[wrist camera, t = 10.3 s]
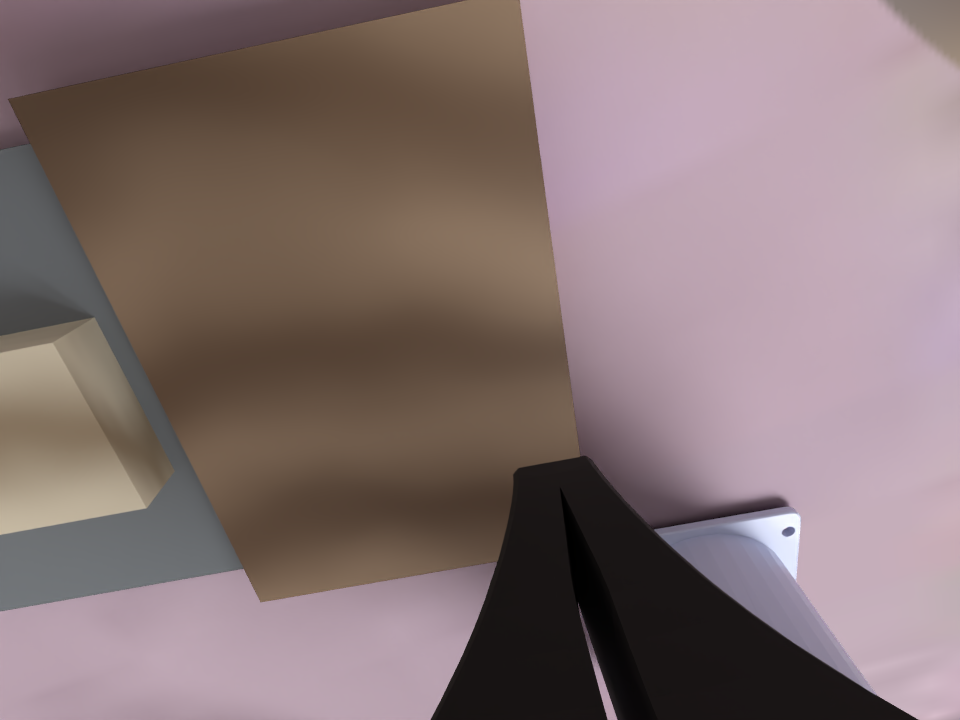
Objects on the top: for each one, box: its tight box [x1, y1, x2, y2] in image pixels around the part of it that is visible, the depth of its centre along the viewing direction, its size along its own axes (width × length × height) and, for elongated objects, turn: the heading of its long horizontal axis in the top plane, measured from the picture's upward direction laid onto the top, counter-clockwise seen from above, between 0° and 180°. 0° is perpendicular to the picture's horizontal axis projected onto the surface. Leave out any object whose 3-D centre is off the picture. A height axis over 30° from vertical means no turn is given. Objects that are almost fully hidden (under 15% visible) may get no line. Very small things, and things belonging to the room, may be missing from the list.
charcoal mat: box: [0, 144, 244, 611], centre depth 19 cm, size 16×12×1 cm
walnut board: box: [8, 0, 580, 602], centre depth 18 cm, size 18×13×2 cm
